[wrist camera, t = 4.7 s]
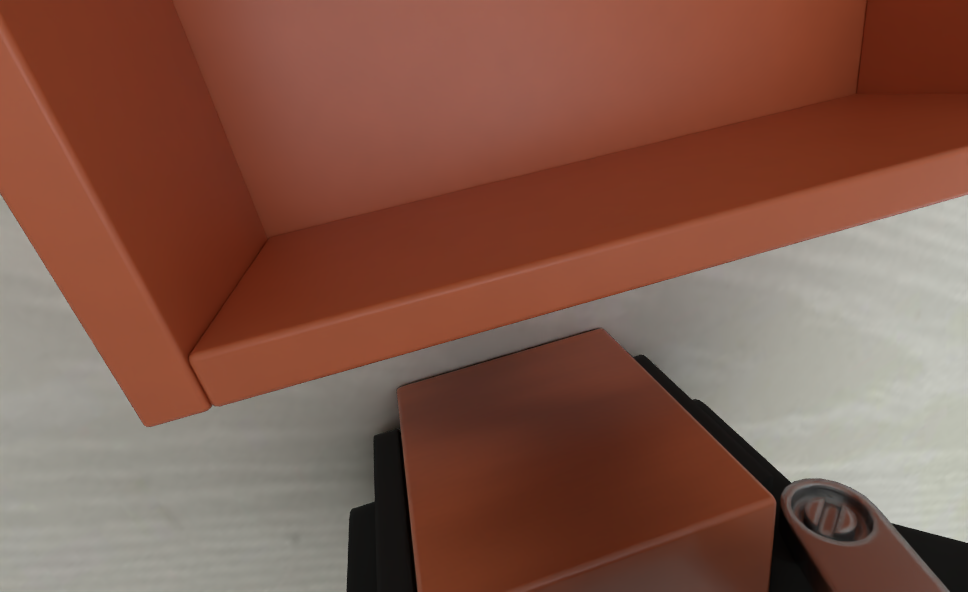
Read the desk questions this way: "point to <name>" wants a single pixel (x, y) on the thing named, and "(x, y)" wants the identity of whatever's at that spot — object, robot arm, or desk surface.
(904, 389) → the desk surface
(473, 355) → the desk surface
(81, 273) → the terracotta bin
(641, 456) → the terracotta block
